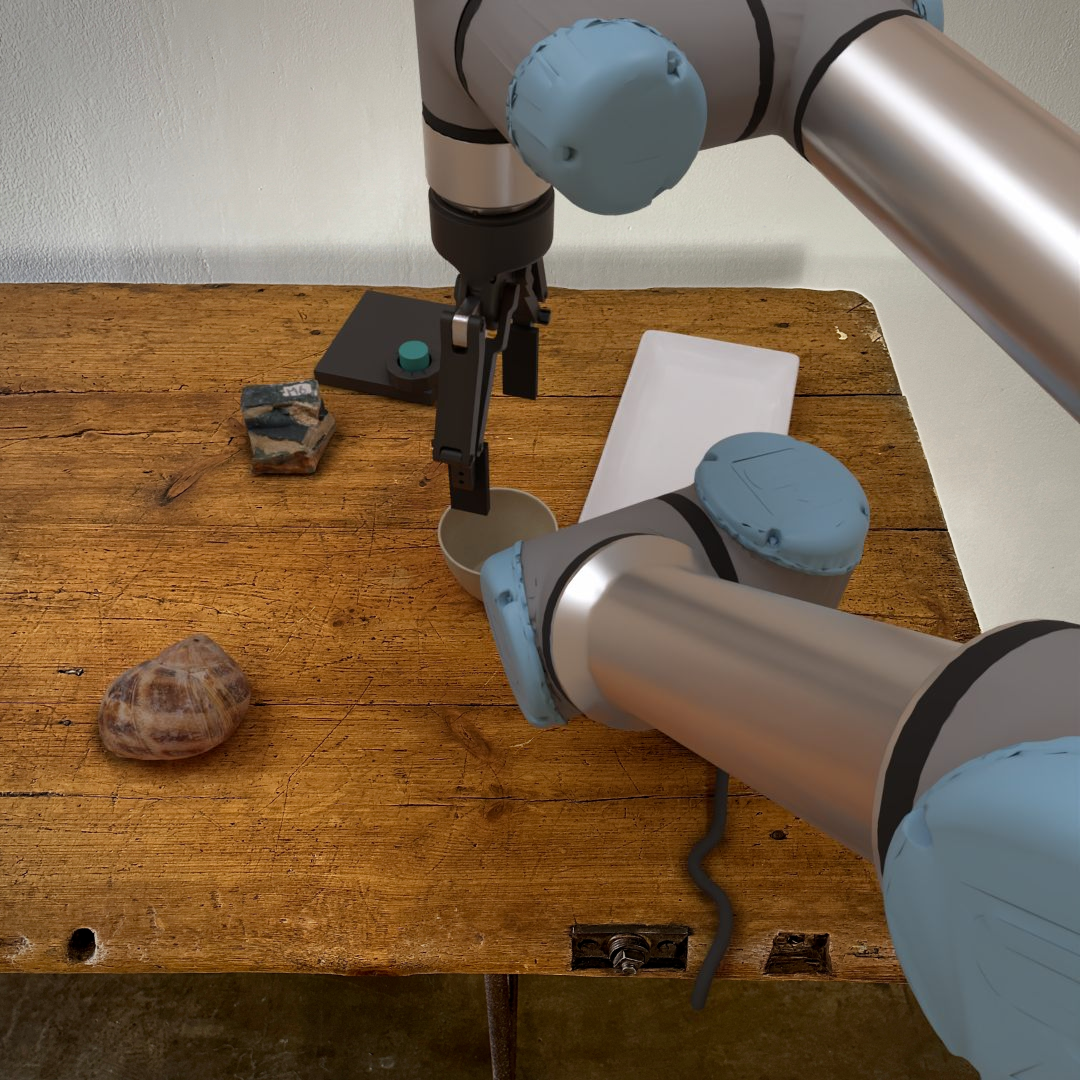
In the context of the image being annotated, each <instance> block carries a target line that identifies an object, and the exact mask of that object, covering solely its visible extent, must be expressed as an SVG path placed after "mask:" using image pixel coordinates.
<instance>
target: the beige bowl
mask: <svg viewBox="0 0 1080 1080" xmlns="http://www.w3.org/2000/svg"><path fill="white" fill-rule="evenodd" d="M557 530H559V524H558V521H557V518H556V516H555V514H554V512H553V511H552V510H551V508H550V507H549V506H548V504H546V503H545V502H544V501H543V500H542V499H540V498H538V497H537V496H535V495H534V494H531V493H530V492H527V491H524V490H522V489H518V488H517V489H516V488H512V487H504V486H503V487H502V486H500V487H499V486H494V487H490V511H489V513H488V516H484V515H479V514H475V513H470V512H465V511H461V510H456V509H451V504H450V505H448V507H447V508H446V509H445V511H443V513H442V515H441V517H440V520H439V522H438V526H437V538H438V544H439V548H440V550H441V554H442V556H443V559H444V561H445V563H446V565H447V567H448V569H449V570H450V572H451V574H452V575H453V577H454V578H455V579H456V581H457V582H458V583H459V585H460V586H462V588H463V589H464V590H465V591H466V592H467V593H469V594H470V595H471V596H472V597H474V598H475V599H477V600H478V601H480V602H482V603H484V601H483V596H482V591H481V584H480V573H481V568H482V566H483V564H484V562H485V561H486V560H487V559H488V558H489V557H490V556H492V555H494V554H496V553H498V552H501V551H503V550H505V549H507V548H510V547H512V546H514V544H515V543H516V542H518V541H520V540H523V541H528V540H531V539H533V538H536V537H539V536H542V535H545V534H548V533H551V532H554V531H557Z"/></svg>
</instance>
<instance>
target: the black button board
mask: <svg viewBox="0 0 1080 1080" xmlns="http://www.w3.org/2000/svg"><path fill="white" fill-rule="evenodd" d="M455 307H456V305H452V304H447V303H443V302H437V301H431V300H425V299H420V298H414V297H409V296H404V295H399V294H392V293H386V292H381V291H375V290H370V289H366V290H365V292H364V293H363V294H362V296H361V298H360V299H359V301H358V302H357V304H356V305H355V307H354V308H353V309H352V311H351V313H350V314H349V316H348V317H347V319H346V320H345V322H344V323H343V325H342V326H341V328H340V329H339V331H338V332H337V334H336V335H335V337H334V339H333V340H332V341H331V343H330V344H329V346H328V347H327V349H326V350H325V352H324V354H323V355H322V356H321V358H320V359H319V361H318V362H317V364H316V366H315V367H314V369H313V370H312V371H313V375H314V376H313V377H314V380H317V381H318V383H319V385H326V386H331V387H336V388H340V389H346V390H351V391H355V392H361V393H366V394H371V395H374V396H375V395H377V396H381V397H385V398H386V397H387V398H391V399H396V400H402V401H406V402H410V403H416V404H421V405H426V406H430V407H431V406H433V404H434V402H435V400H436V399H437V394H438V381H439V369H440V356H441V335H440V317H441V315H442V312H443V310H449V311H455ZM409 341H420V342H423V343H424V344H426V345H427V347H428V352H429V365H428V367H427V368H426V369H424V370H422V371H415V372H411V371H406V370H404V369H403V368H402V367H401V365H400V357H399V348H400V346H401V345H402V344H404V343H406V342H409Z"/></svg>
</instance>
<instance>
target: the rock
mask: <svg viewBox="0 0 1080 1080" xmlns="http://www.w3.org/2000/svg"><path fill="white" fill-rule="evenodd" d="M320 391H321V390H320V383H318V381H317V380H315V378H311V379H310V378H309V379H304V380H299V381H290V382H283V383H272V384H269V383H268V384H255V385H252V384H249V385H246V386H244V387H242V389H241V393H240V394H241V395H240V413H241V414H242V418H243V422H244V425H245V428H246V429H247V430H246V431H247V433H248V434H247V435H248V437H249V440H250V444H251V446H250V448H251V451H252V453H253V457H252V458H251V459H252V460H251V462H250V469H249V474H250V475H252V474H255V473H256V474H258V475H262V474H264V473H266V474H269V475H270V474H287V475H288V474H313V473H314V472H316V470H317V466H318V464H319V461H320V460H321V458H322V457H323V455H324V454H325V452H326V448H327V446H328V444H329V443H330V441H331V438H332V437H333V436H334V433H335V432H336V431H337V430H338V429H337V428H338V427H337V426H336V419H335V417H334V416H333V415H332V414H331V413H330V411H329V410H328V409H326V406H325V402H324V399H323V397H322V395H321V392H320Z"/></svg>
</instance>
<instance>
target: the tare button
mask: <svg viewBox="0 0 1080 1080" xmlns="http://www.w3.org/2000/svg"><path fill="white" fill-rule="evenodd" d="M399 357H400V365H401V367H402V368H403V369H404V370H406V371H411V372H415V371H422V370H424V369H426V368H427V367H428V365H429V352H428V347H427V345H426V344H424V343H423V342H420V341H409V342H406V343H404V344H402V345H401V346H400V348H399Z"/></svg>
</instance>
